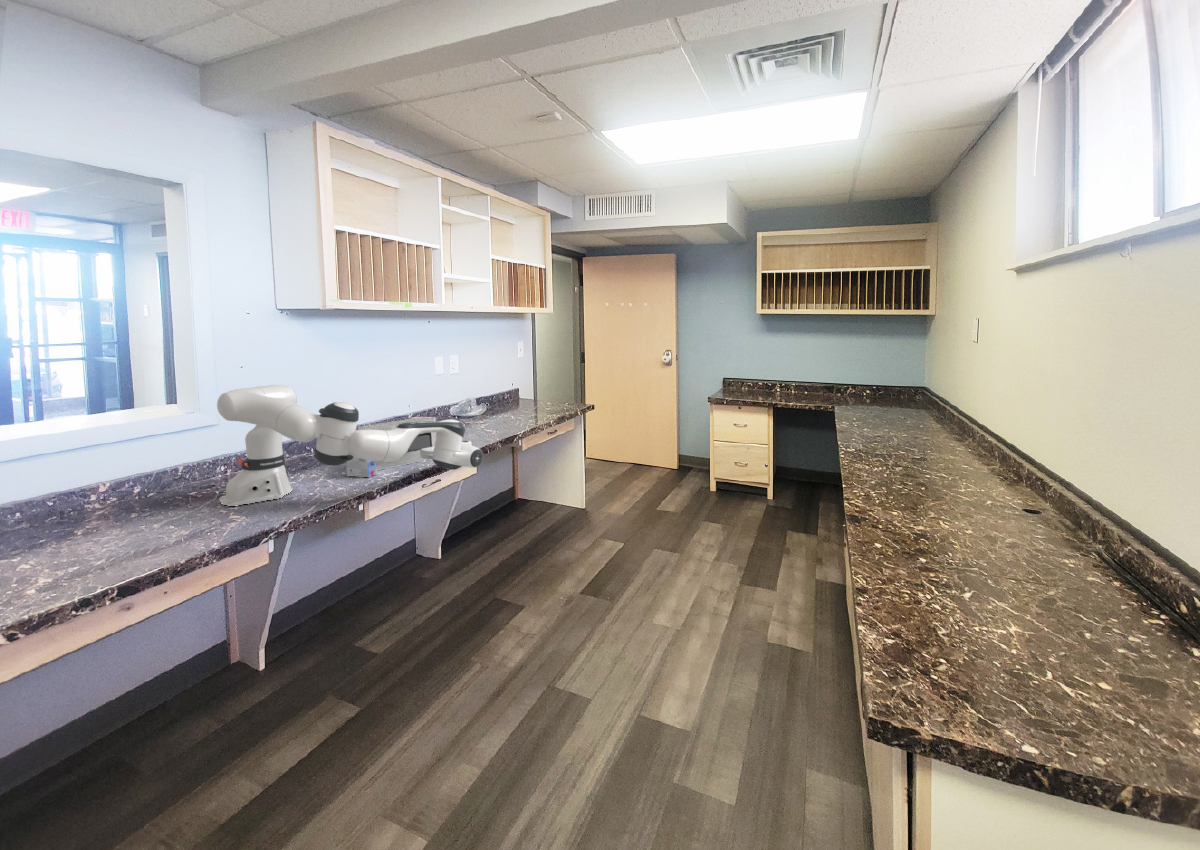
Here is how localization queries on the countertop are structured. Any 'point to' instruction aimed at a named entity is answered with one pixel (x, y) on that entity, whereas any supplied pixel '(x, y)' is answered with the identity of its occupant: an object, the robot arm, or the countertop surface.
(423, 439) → the button
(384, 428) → the metal drawer cabinet
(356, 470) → the ink cartridge box
